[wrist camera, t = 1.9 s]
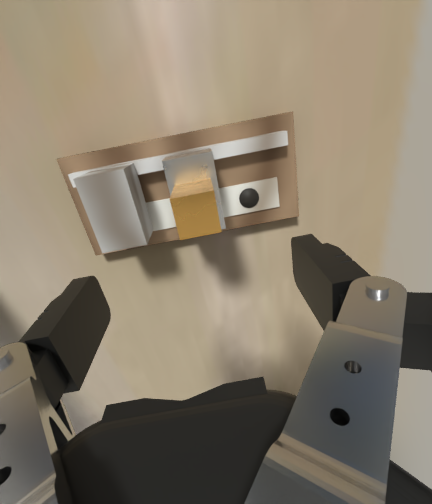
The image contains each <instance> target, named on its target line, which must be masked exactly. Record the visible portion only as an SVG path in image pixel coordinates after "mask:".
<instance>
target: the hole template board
mask: <svg viewBox="0 0 432 504" xmlns="http://www.w3.org/2000/svg"><path fill="white" fill-rule="evenodd" d="M207 148H211V150H212V153H213V159H214V164H215V170H216V176H217V181H218V187H219V193H220V198H221V204H222V210H223V215H224V221H225V226H226V229H221V231H225V230H230V229H235V228H240V227H245V226H250V225H255V224H261V223H266V222H271V221H276V220H281V219H286V218H291V217H297V216H299V209H298V191H297V173H296V155H295V137H294V119H293V112H287V113H282V114H277V115H272V116H267V117H263V118H258V119H253V120H248V121H243V122H238V123H233V124H228V125H223V126H218V127H213V128H208V129H203V130H198V131H193V132H188V133H183V134H178V135H173V136H168V137H163V138H158V139H153V140H148V141H143V142H138V143H133V144H128V145H123V146H118V147H113V148H108V149H103V150H98V151H93V152H88V153H83V154H78V155H73V156H68V157H63V158H59V159H57V162H58V164H59V167H60V169H61V171H62V174H63V176H64V179H65V181H66V184H67V186H68V188H69V191H70V193H71V196H72V198H73V201H74V203H75V206H76V208H77V210H78V213H79V215H80V218H81V220H82V223H83V225H84V228H85V230H86V232H87V235H88V237H89V240H90V242H91V245H92V247H93V250H94V252H95V254H96V255H101V254H106V253H111V252H117V251H122V250H127V249H132V248H137V247H142V246H147V245H153V244H158V243H163V242H168V241H173V240H178V239H180V238H179V234H178V230H177V227H176V223H175V219H174V215H173V211H172V207H171V203H170V192H169V188H168V184H167V180H166V176H165V172H164V168H163V164H162V160H163V159H164V158H165V157H167V156H172V155H177V154H182V153H187V152H192V151H197V150H202V149H207Z"/></svg>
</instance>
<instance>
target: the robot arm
mask: <svg viewBox="0 0 432 504" xmlns="http://www.w3.org/2000/svg"><path fill="white" fill-rule="evenodd" d="M291 248H292V261H293V274H294V279H295V282H296V285H297V287H298V289H299V290H300V292H301V294H302V295H303V297H304V299H305V300H306V302H307V304H308V305H309V307H310V309H311V310H312V312H313V314H314V315H315V317H316V319H317V320H318V322H319V323H320V325H321V327H322V328H323V330H324V333H323V335H322V338H321V340H320V342H319V345H318V347H317V350H316V352H315V354H314V357H313V359H312V362H311V364H310V366H309V369H308V371H307V374H306V376H305V378H304V381H303V383H302V386H301V388H300V390H299V393H298V395H297V396H295V395H292V394H289V393H286V392H281V391H276V390H266V386H265V382H264V378H263V377H259V378H254V379H248V380H242V381H237V382H231V383H226V384H223V385H220V386H218V387H216V388H213V389H211V390H208V391H206V392H204V393H201V394H199V395H197V396H194V397H192V398H190V399H187V400H183V401H177V400H163V399H148V398H143V399H138V400H132V401H127V402H121V403H116V404H110V405H106V408H105V411H104V414H103V418H102V420H101V421H99V422H97V423H95V424H93V425H91V426H89V427H88V428H86V429H85V430H83V431H81V432H80V433H78V434H77V435H76V434H75V432H74V429H73V426H72V424H71V421H70V419H69V416H68V413H67V411H66V408H65V406H64V404H63V402H62V401H61V397H62V395H63V393H68V392H74V391H79V390H80V388H81V386H82V384H83V381H84V379H85V377H86V374H87V372H88V370H89V368H90V365H91V363H92V361H93V359H94V356H95V354H96V352H97V349H98V347H99V345H100V343H101V340H102V338H103V336H104V334H105V331H106V329H107V327H108V325H109V322H110V316H111V315H110V308H109V305H108V303H107V301H106V298H105V296H104V294H103V291H102V289H101V287H100V285H99V282H98V280H97V279H96V277H95V276H88V277H83V278H78V279H73V280H72V281H71V283H70V284H69V285H68V286H67V288H66V289H65V290H64V291H63V293H62V294H61V295H60V296H58V297H57V298H56V299H54V300H53V301H52V302H51V303H50V304H49V305H48V306H47V308H46V309H45V310H44V313H42V314H41V315H40V316H39V317H38V320H36V321H35V322H34V324H33V325H32V326H31V327H30V328H29V330H28V331H27V332H26V333H25V335H24V336H23V337H22V338H21V340H20V341H19V342H16V343H11V344H8V345H5V346H3V347H1V348H0V504H432V489H430V488H428V487H427V486H426V485H425V484H423V483H422V482H420V481H419V480H418V479H416V478H415V477H413V476H412V475H411V474H409V473H408V472H407V471H405V470H404V469H402V468H401V467H400V466H398V465H397V464H395V463H394V462H393V461H391V460H390V451H391V442H392V433H393V423H394V414H395V405H396V396H397V387H398V378H399V368H410V369H422V370H431V372H432V293H412V292H407V291H406V289H405V288H404V286H403V285H401V284H400V283H398V282H396V281H394V280H391V279H389V278H385V277H378V276H370V275H369V274H368V273H367V272H366V271H365V270H364V269H362V268H361V267H360V266H359V265H358V264H357V263H356V262H355V261H352V259H351V258H350V257H349V256H348V255H346V253H344V252H343V251H342V250H341V249H340V248H339V247H336V246H334V245H331V244H329V243H325V244H322V243H321V242H320V241H319V240H317V239H316V238H315V237H314V236H313V235H312V234H308V235H303V236H297V237H292V240H291Z"/></svg>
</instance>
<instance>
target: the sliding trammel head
mask: <svg viewBox="0 0 432 504" xmlns="http://www.w3.org/2000/svg"><path fill="white" fill-rule="evenodd" d="M162 164H163V168H164V172H165V176H166V180H167V184H168V188H169V192H170V203H171V207H172V211H173V215H174V219H175V223H176V227H177V230H178V234H179V238H180V240H184V239H189V238H194V237H199V236H205V235H210V234H215V233H220V232H222V231H221V229H226V226H225V221H224V215H223V210H222V204H221V198H220V193H219V187H218V181H217V176H216V170H215V164H214V159H213V153H212V150H211V148H207V149H202V150H197V151H192V152H187V153H182V154H177V155H172V156H167V157H165V158H164V159H163V160H162Z"/></svg>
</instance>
